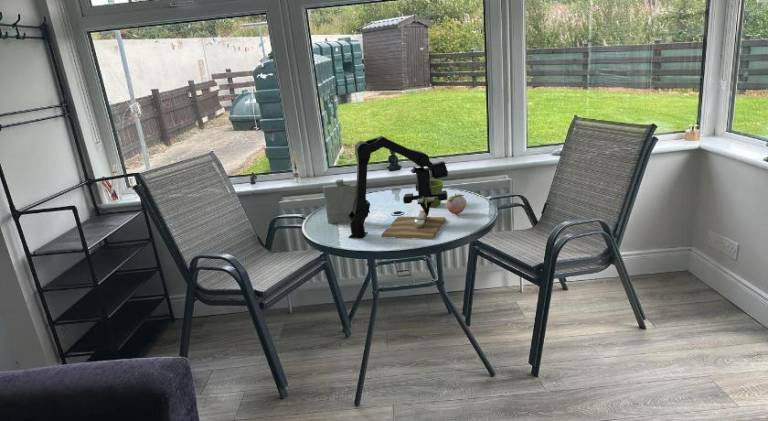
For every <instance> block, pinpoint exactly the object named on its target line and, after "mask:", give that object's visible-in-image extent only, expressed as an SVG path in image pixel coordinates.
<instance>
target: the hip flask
mask: <svg viewBox="0 0 768 421" xmlns="http://www.w3.org/2000/svg"><path fill="white" fill-rule="evenodd" d="M356 185H357V183H344V179H341V178H340V179H336V180H335V184H331V185H330V184H329V185H324V186H322V190H323V197H324V199H323V200H324V205H325V211H326V218H327V224H330V225H331V224H341V223H342V224H344V223H345V224H347V223H350V222H351V221H350V219H349V217H348V215H349V214H350V213H351V211H352V208H353V204H354V200H355V198H356Z"/></svg>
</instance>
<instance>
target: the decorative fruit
mask: <svg viewBox="0 0 768 421" xmlns="http://www.w3.org/2000/svg"><path fill="white" fill-rule="evenodd" d="M454 194H455V195H452V196H450V197H448V198H447V200H446V202H445V206H446V209H447V210H448V212H450V213H451V214H453V215H456V216H458V215H459V214H462V212H463V211H464V210H465V209H466V206H467V200H466V198H465V195H464V194H462V193H459V194H457V193H454Z"/></svg>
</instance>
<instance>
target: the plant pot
mask: <svg viewBox="0 0 768 421" xmlns="http://www.w3.org/2000/svg"><path fill="white" fill-rule="evenodd" d="M430 182H431V187H432V194H438V191H443V187H444V184H445V182H444V181H443V180H441V179H430ZM425 202H426V207H427V199H425ZM441 204H442V202H441V201H440V200H438V198H434V203H431V206H430V208H436V207H437V208H439V207H440V206H441Z"/></svg>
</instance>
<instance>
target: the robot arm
mask: <svg viewBox="0 0 768 421" xmlns="http://www.w3.org/2000/svg"><path fill="white" fill-rule="evenodd" d="M382 148H385V149H387V150H389V151H392V152H393V153H396V154H398V155H401V156H402V157H405V158H407V159H408V160H409V161H411V162H412V163H414V164H415V165H417V166H418V167H416V166H413V167H412V169H411V170H410V172H411V173H412V174H415V176H416V178H415V179H416V183H415V191H416V192H417V195H416V194H415V195H414V193H405V194H404V195H403V199H402V201H403V204H404V205H405V204H412V202H413V201H417V203H416V204H417V205H420V207H421V208H422V209H423V210H424V211H425V213H426V215H427V217H429V213H430V208H431V207H430V206H431V203H434V198H438V200H440V201H447V200H448V198H449V197H448V196H449V195H448V191H447V190H446V189H445V190H442V191H438V194H432V187H431V182H430V180H431V178H432V180H440V179H442V178H447V177H448V175H449V172H448V168H447V166H446V163H445V161H443V160H442V161H439V162H434V163H433V162H431V160H430V157H429V155H428V154H426V153H425V152H423V151H422V150H418V149H417V150H416V149H411V148H408V147H406V146H404V145H401V144H399V143H397V142H394V140H393V141H392V140H391V139H388V138H386V137H385V136H383V135H380V136H378V137H376V138H371V139H368V140H365V141H363V140H361V141H357V143H355V145H354V153H355V159H356V164H357V165H356V166H357V167H356V168H357V169H356V184H357V185H356V198H355V200H354V204H353V208H352V211H351V213H350V214H349V215H348V217H349V219H350V221H351V222H350V224H349V225H350V232H351V234H350V235H349V236H348V239H364V238H365V237H366V236H367V235H368V234H369V231H365V220H366V219H367V218H368V216H369V214H371V211H370V208H371V203H370V201H369V200H368V199H367V184H368V183H367V180H368V178H367V177H368V164H369V162H370V159H371V156H372V153H374V152H376V151H378V150H380V149H382ZM425 199H427V206H426V202H425Z"/></svg>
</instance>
